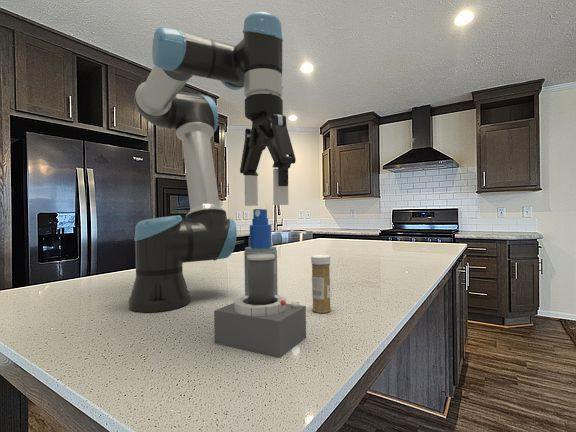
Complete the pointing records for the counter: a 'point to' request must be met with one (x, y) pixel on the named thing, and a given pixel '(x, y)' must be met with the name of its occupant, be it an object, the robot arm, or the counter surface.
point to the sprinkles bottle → (321, 283)
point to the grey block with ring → (261, 326)
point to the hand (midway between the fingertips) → (264, 205)
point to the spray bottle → (260, 242)
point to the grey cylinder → (261, 279)
